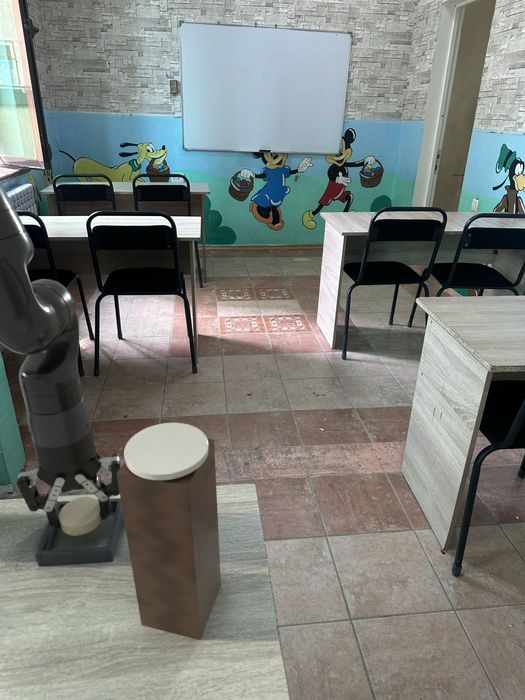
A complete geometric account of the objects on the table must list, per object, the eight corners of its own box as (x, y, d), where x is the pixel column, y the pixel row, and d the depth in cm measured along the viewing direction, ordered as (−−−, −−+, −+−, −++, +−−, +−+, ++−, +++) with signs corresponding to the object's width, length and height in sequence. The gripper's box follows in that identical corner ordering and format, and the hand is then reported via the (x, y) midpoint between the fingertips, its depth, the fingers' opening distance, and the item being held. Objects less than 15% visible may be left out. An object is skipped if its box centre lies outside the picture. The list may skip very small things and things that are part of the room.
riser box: (142, 631, 61) (116, 473, 50) (168, 578, 68) (150, 428, 57) (201, 646, 60) (188, 486, 48) (221, 590, 67) (214, 439, 55)
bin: (40, 572, 69) (35, 555, 67) (61, 518, 78) (56, 501, 77) (113, 567, 70) (110, 550, 68) (125, 514, 79) (123, 497, 78)
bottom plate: (109, 475, 50) (107, 466, 49) (148, 425, 57) (147, 417, 57) (191, 490, 48) (190, 481, 47) (219, 437, 55) (219, 428, 55)
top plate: (52, 534, 71) (49, 522, 69) (76, 505, 76) (73, 493, 75) (89, 542, 69) (86, 530, 68) (110, 512, 74) (108, 500, 73)
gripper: (116, 405, 70) (129, 493, 77) (8, 421, 66) (33, 512, 74) (117, 435, 63) (131, 528, 71) (-3, 454, 60) (26, 550, 67)
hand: (81, 519), depth 72 cm, fingers closed on top plate, 6 cm apart
